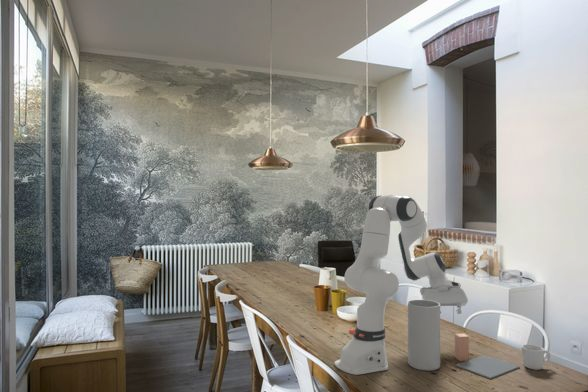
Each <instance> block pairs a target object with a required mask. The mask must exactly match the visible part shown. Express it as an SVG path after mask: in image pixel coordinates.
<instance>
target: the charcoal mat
mask: <svg viewBox="0 0 588 392" xmlns="http://www.w3.org/2000/svg"><path fill="white" fill-rule="evenodd" d="M455 367H457V368H459V369H462V370H464V371H468V372H470V373H473V374H475V375H479V376H481V377H483V378H486V379H489V380H492V379H495V378H497V377H500V376H502V375H505V374H507V373H510V372H513V371H516V370H518V369H520V365H517V364H514V363H511V362H508V361H505V360H502V359H498V358H497V357H496V358H495V357H493V356H489V355H487V354H483V355H481V356H476V357H474V358H471V359H469V360H468V361H461V362H459V363H457V364H455Z"/></svg>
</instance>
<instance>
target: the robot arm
mask: <svg viewBox="0 0 588 392" xmlns="http://www.w3.org/2000/svg"><path fill="white" fill-rule="evenodd" d="M391 222H398V223H399V225H400V228H401V229H400V230H401V231H400V232H399V233H398V236H397V237H398V244H399V248H400V254H401V257H402V262H403V270H404V271H403V272H404V275H405V276H406V278H407V279H409V280H411V281H418V280H420V279H422V278H425V277H427V279H428V281H429V286H430V287H429V286H428V287H427V286H426V287H425V286H424V287H421V288H420V289H419V293H420V295H421V298H422V299H421V300H429V301H435V302H438V303H439V304H440V307H456V308H457V309H456V311H455V312H456V314H457V315H461V314H462V310H461V309H462V307H465V306H466V305H467V304H468V302H469V299H468V296H467V294H466V292H465V291H464V289H463V288H461V287H462V286H461V285H462V284H461V283H460V282H457V281H453V280H450V279H449V278H448V277H447V275H446V269H447V267H446V264H445V261H444V258H443V256H442V255H441V254H439V253H437V252H435V251H433V252H429V253H427V254H424V255H421V256H417V257H413V258H412V257H411V252H410V247H411V246H412V244H413V243H415V242H416V241H418V240H419V239H420V238H421V237H422V236H423V235H424V234H425V232H426V230H427V221H426V217H425V215H424V213H423V211H422V209H421V207H420V206H419V205H418V203H417V202H416V200H415V199H414V198H412V197H410V196H407V195H403V196H401V195H392V194H386V195H376V196H373V197H372V198H371V199H370V201H369V204H368V211H367V214H366V216H365V220H364V224H363V229H362V235H361V242H360V244H361V245H360V249H359V251H358V255H357V257H356V258H355V261H354V262H353V264H352V265H350V266H349V267H348V268H347V269H346V270H345V273H344V275H343V277H344V283H345V285H346V286H347V287H348V288H350V289H351V290H354V291H356V292H359V293H363V294H365V299H364V302H363V303H361V304H360V305H358V307H357V308H356V309H357V310H356V327H355V329H352V328H349V330H348V334H350V335H352V336H353V337H352V338H351V339H350V340H349V342H348V343H346V344H345V346H344V347H342V349H341V350H340V356H339V359H337V360H335V361H334V365H335V367H336V368H338V369H339V370H341V371H342V372H345V373H347V374H351V375H354V376H355V375H356V376H357V375H358V376H359V375H363V374H370V373H375V372H381V371H388V370H389V361H388V357H387V350H386V343H385V338H386V328H385V313H386V312H385V311H386V307H387V304H388V302H389V300H390V299H391V298H392V297H393V296H394V295H396V294H397V292H398V290H399V284H400V283H399V279H398V276H397V275H396V274H395V273H394V272H391V271H389V270H387V269H384V268H378V267H377V266H378V264H379V262H380V260H381V259H383V258H385V257H386V256H387V255H388V251H389V244H390V237H391V236H390V235H391ZM441 313H442V312H441V310H440V314H441Z"/></svg>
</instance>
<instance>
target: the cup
mask: <svg viewBox="0 0 588 392" xmlns="http://www.w3.org/2000/svg"><path fill="white" fill-rule="evenodd" d="M521 352H522V353H521V354H522V360H523V361H522V362H523V366H524V367H526V368H527V369H529V370H534V371H539V370H542V369H543V367H544V363H548V362H549V361H550V360H551V353H550V352H549V350H546V349H545V348H544V347H542V346H540V345H537V344H523V345H521ZM545 354H546V358H545Z"/></svg>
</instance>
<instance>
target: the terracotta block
mask: <svg viewBox="0 0 588 392" xmlns="http://www.w3.org/2000/svg"><path fill="white" fill-rule="evenodd" d="M469 343H470V342H469V336H468V335H467V334H466V333H455V334H454V358H455V359H456V360H458V362H459V361H460V362H465V361H468V360H470V356H469V355H470V354H469V353H470V352H469Z"/></svg>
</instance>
